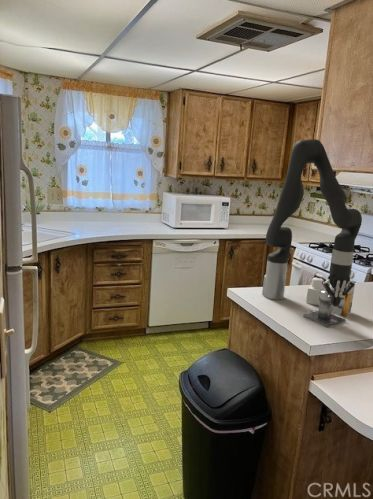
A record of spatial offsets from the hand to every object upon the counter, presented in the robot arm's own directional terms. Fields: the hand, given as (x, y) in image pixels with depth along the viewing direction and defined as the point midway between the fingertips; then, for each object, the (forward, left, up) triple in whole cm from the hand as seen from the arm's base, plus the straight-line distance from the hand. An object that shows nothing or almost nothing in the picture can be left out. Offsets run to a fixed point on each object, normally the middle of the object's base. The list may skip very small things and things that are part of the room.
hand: (335, 305), depth 156 cm
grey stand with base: (-7, +5, -9) cm, 13 cm away
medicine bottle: (-22, +19, -10) cm, 31 cm away
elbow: (-4, +5, -5) cm, 8 cm away
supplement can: (-9, +19, -10) cm, 23 cm away
